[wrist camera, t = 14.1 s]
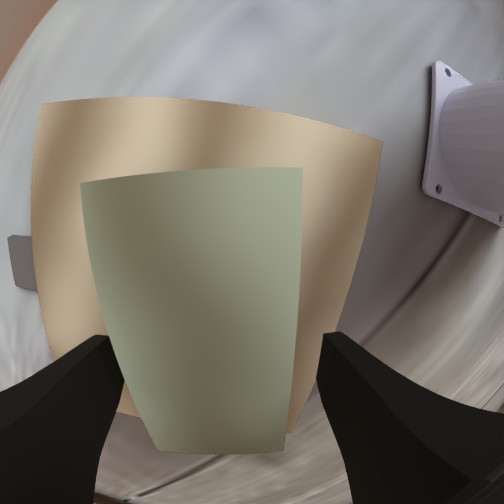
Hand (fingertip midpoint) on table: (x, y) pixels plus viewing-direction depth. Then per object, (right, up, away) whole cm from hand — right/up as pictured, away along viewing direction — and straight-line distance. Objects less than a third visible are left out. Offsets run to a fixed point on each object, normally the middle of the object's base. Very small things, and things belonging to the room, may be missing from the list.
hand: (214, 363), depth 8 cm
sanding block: (0, +2, +2) cm, 3 cm away
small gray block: (-11, +3, +4) cm, 12 cm away
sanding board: (-2, +2, +4) cm, 5 cm away
